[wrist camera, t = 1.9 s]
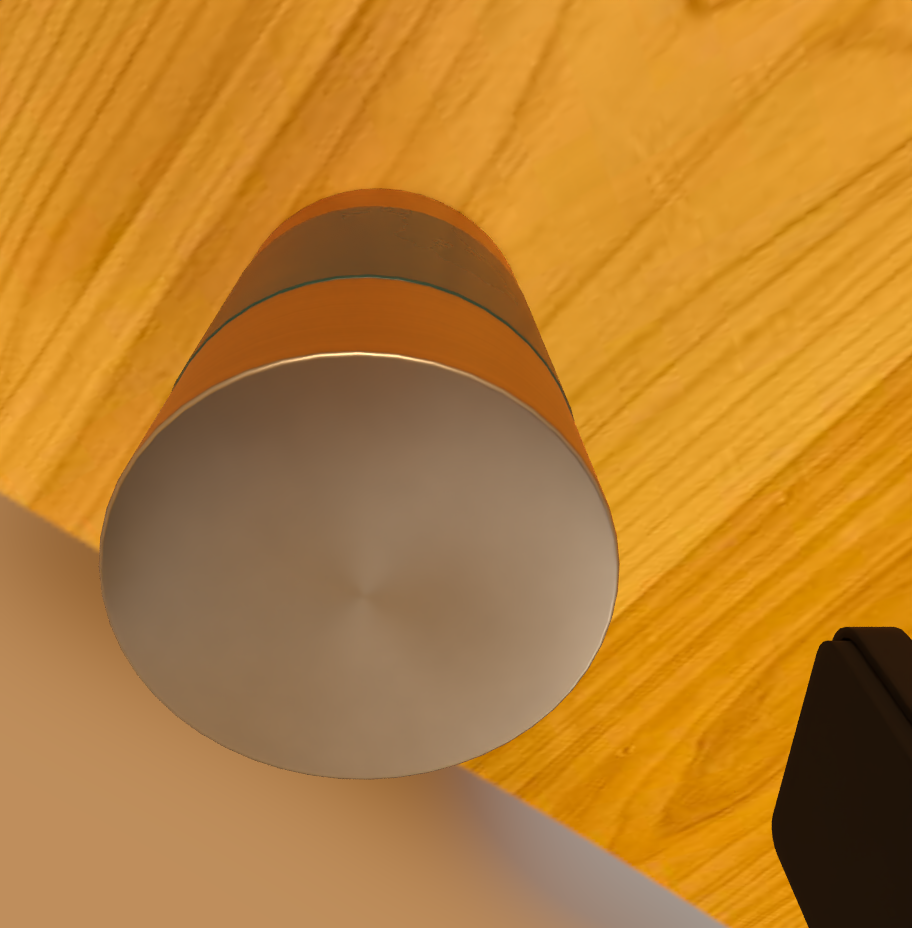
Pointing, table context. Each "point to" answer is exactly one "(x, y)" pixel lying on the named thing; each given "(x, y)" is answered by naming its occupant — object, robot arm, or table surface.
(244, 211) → the table surface
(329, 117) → the table surface
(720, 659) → the table surface
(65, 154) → the table surface
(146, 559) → the can
